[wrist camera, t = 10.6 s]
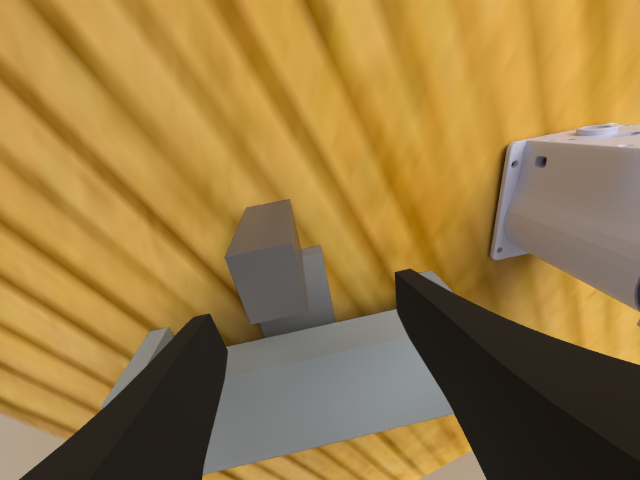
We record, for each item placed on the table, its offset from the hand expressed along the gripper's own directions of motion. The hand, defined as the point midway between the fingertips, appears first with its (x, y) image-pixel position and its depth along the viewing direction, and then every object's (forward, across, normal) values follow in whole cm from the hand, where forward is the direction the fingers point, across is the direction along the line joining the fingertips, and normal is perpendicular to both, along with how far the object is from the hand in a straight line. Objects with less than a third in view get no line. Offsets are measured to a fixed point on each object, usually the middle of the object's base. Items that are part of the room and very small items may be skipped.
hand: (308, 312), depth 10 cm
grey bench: (+9, +2, +12) cm, 15 cm away
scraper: (+9, +2, +9) cm, 13 cm away
